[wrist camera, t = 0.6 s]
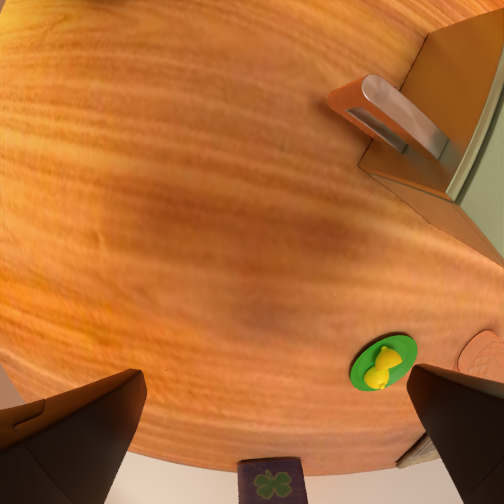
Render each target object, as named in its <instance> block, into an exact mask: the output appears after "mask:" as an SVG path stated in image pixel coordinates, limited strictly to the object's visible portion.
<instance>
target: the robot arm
mask: <svg viewBox="0 0 504 504" xmlns="http://www.w3.org/2000/svg"><path fill="white" fill-rule="evenodd" d="M407 391H408V394H409V396H410V398H411V401H412V403H413V405H414V408H415V410H416V412H417V415H418V417H419V419H420V421H421V423H422V425H423V426H424V428H425V430H426V432H427V434H428V435H429V437H430V439H431V441H432V443H433V444H434V446H435V448H436V450H437V452H438V454H439V456H440V457H441V459H442V461H443V463H444V465H445V467H446V469H447V471H448V472H449V475H450V476H451V478H452V480H453V482H454V484H455V486H456V488H457V490H458V492H459V494H460V497H461V499H462V501H463V503H464V504H504V383H501V382H497V381H492V380H488V379H484V378H479V377H475V376H471V375H467V374H463V373H459V372H455V371H451V370H447V369H443V368H439V367H436V366H432V365H428V364H424V363H422V364H416V365H414V366H413V368H412V370H411V373H410V376H409V379H408V381H407ZM146 397H147V387H146V383H145V379H144V375H143V372H142V371H141V370H138V369H128V370H125V371H123V372H120V373H118V374H115V375H112V376H110V377H107V378H104V379H101V380H99V381H96V382H93V383H90V384H88V385H85V386H82V387H79V388H76V389H73V390H70V391H67V392H64V393H61V394H58V395H55V396H52V397H49V398H47V399H42V400H39V401H35V402H32V403H28V404H25V405H21V406H17V407H13V408H8V409H3V410H0V504H104V502H105V500H106V498H107V495H108V493H109V491H110V488H111V486H112V484H113V481H114V479H115V477H116V474H117V472H118V470H119V468H120V465H121V463H122V461H123V459H124V456H125V454H126V452H127V450H128V447H129V445H130V443H131V441H132V439H133V436H134V434H135V432H136V429H137V427H138V424H139V420H140V417H141V414H142V410H143V407H144V404H145V400H146Z"/></svg>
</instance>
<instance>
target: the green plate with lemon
mask: <svg viewBox="0 0 504 504" xmlns="http://www.w3.org/2000/svg"><path fill="white" fill-rule="evenodd" d="M416 356H417V345H416V342H415V341H414V340H413V339H412V338H410V337H408V336H404V335H397V336H391V337H388V338H385V339H383V340H381V341H379V342H377V343H375V344H374V345H372V346H371V347H369V348H368V349H367V350H366V351H364V352H363V353H362V355H361V356H360V357H359V358H358V359H357V361H356V362H355V363H354V365H353V367H352V370H351V374H350V379H351V382H352V384H353V385H354V387H356V388H357V389H359V390H362V391H375V390H380V389H383V388H385V387H388V386H390V385H392V384H393V383H395V382H396V381H398V380H399V379H400V378H402V377H403V376H404V375H405V374H406V373H407V372H408V371H409V369H410V368H411V367H412V365H413V363H414V362H415V359H416Z"/></svg>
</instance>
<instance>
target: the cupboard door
mask: <svg viewBox="0 0 504 504" xmlns="http://www.w3.org/2000/svg"><path fill="white" fill-rule="evenodd" d="M503 84H504V8H502V9H498V10H495V11H491V12H488V13H485V14H481V15H478V16H475V17H472V18H469V19H466V20H463V21H461V22H458V23H455V24H452V25H450V26H447V27H444V28H442V29H439V30H437V31H434V32H432V33H429V35H428V37H427V39H426V41H425V43H424V45H423V47H422V49H421V51H420V53H419V55H418V57H417V59H416V61H415V63H414V65H413V67H412V69H411V71H410V73H409V75H408V76H407V78H406V80H405V82H404V84H403V86H402V88H401V90H400V92H399V91H398V90H397V89H396V88H394V87H393V86H392V85H391V84H389V83H388V82H387V81H386V80H384V79H383V78H382V77H381V76H379V75H376V74H369V75H367V76H364V77H362V78H360V79H357V80H355V81H353V82H351V83H348V84H346V85H344V86H342V87H340V88H337V89H335V90H333V91H331V92H330V93H329V95H328V98H327V101H328V105H329V106H330V108H331V109H332V110H334V111H336V112H337V113H339V114H340V115H341V116H343V117H344V118H346V119H347V120H349V121H350V122H352V123H353V124H354V125H356V126H357V127H359V128H360V129H361V130H363V131H364V132H365V133H367V134H368V135H369V136H371V137H372V138H373V141H372V142H371V144H370V146H369V148H368V149H367V151H366V153H365V155H364V156H363V158H362V160H361V162H360V163H359V165H358V166H359V167H360V168H361V169H362V170H364V171H366V172H369V173H372V174H376V175H379V176H382V177H385V178H388V179H392V180H395V181H398V182H401V183H404V184H407V185H410V186H412V187H415V188H418V189H421V190H424V191H426V192H429V193H432V194H435V195H437V196H440V197H442V198H445V199H448V200H450V201H453V202H454V201H455V200H456V198H457V196H458V194H459V192H460V190H461V188H462V186H463V184H464V182H465V180H466V178H467V176H468V174H469V172H470V170H471V168H472V166H473V163H474V161H475V159H476V157H477V155H478V152H479V150H480V148H481V145H482V143H483V140H484V138H485V136H486V133H487V131H488V128H489V125H490V123H491V120H492V117H493V115H494V112H495V109H496V106H497V103H498V100H499V97H500V94H501V91H502V88H503Z"/></svg>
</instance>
